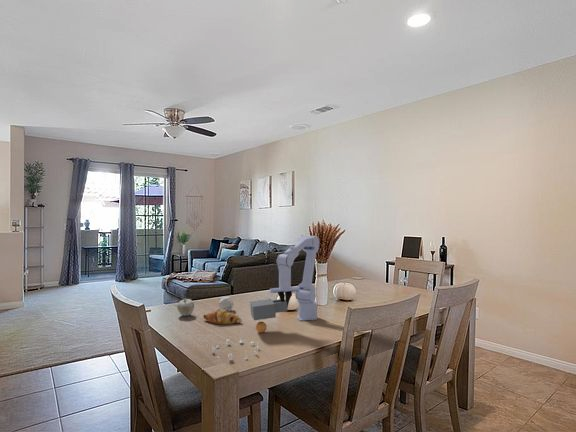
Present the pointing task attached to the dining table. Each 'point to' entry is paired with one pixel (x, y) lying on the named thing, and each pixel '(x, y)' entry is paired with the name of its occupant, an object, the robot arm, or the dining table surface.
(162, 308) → the dining table surface
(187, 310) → the decorative object
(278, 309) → the grey stepped block
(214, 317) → the croissant
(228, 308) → the die
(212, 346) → the game piece set
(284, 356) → the dining table surface
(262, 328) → the egg
